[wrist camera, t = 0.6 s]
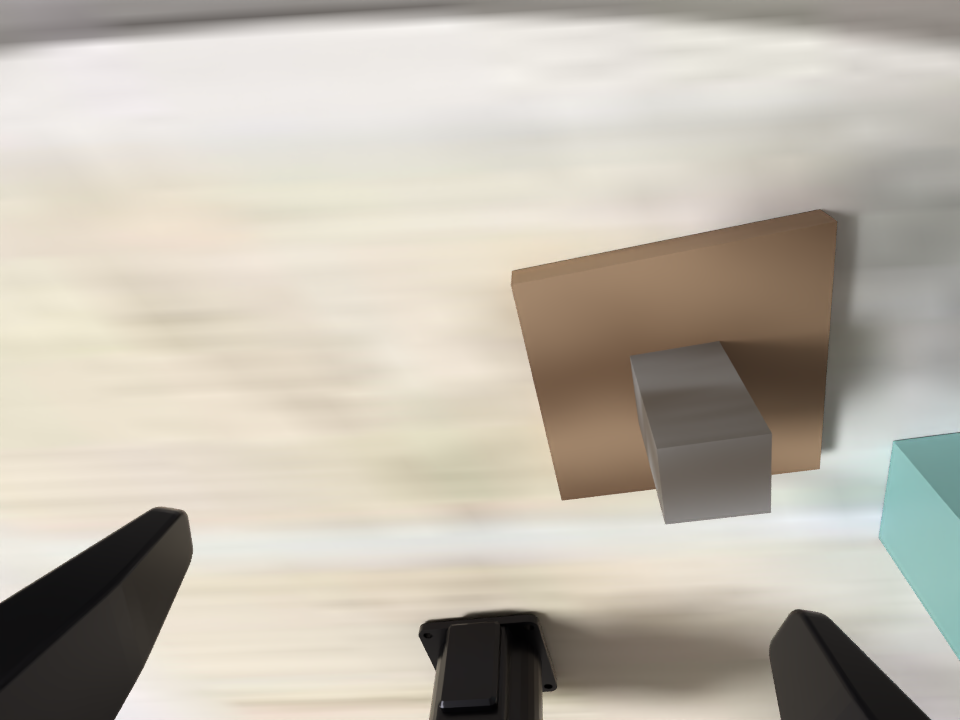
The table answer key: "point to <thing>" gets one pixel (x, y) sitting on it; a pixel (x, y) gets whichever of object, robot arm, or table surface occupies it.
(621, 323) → the post board
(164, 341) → the table surface
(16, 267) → the table surface
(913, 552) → the teal block
